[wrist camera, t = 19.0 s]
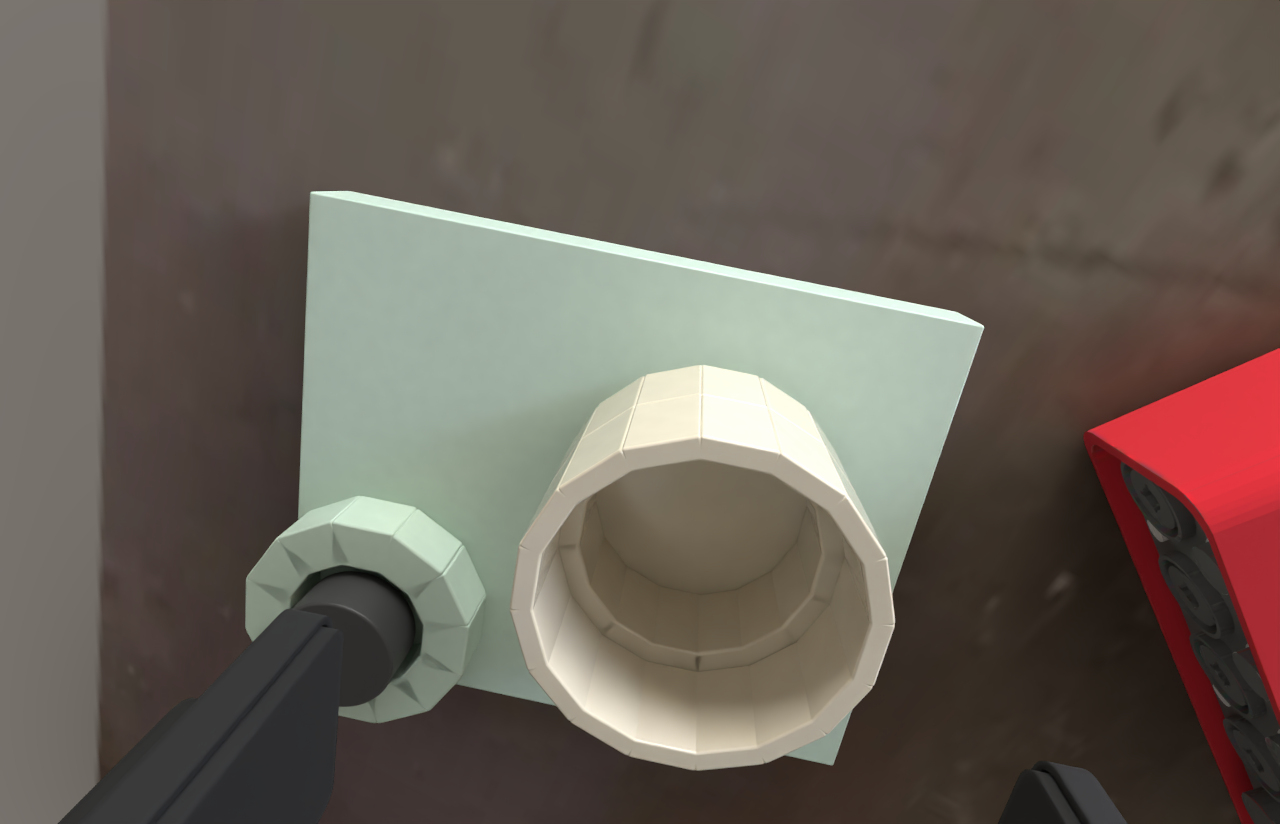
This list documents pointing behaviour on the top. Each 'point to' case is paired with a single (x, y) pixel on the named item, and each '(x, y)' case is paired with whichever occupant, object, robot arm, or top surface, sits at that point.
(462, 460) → the scale
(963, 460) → the top surface
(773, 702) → the cup
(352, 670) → the button
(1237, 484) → the red device housing
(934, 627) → the top surface
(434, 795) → the top surface
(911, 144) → the top surface
